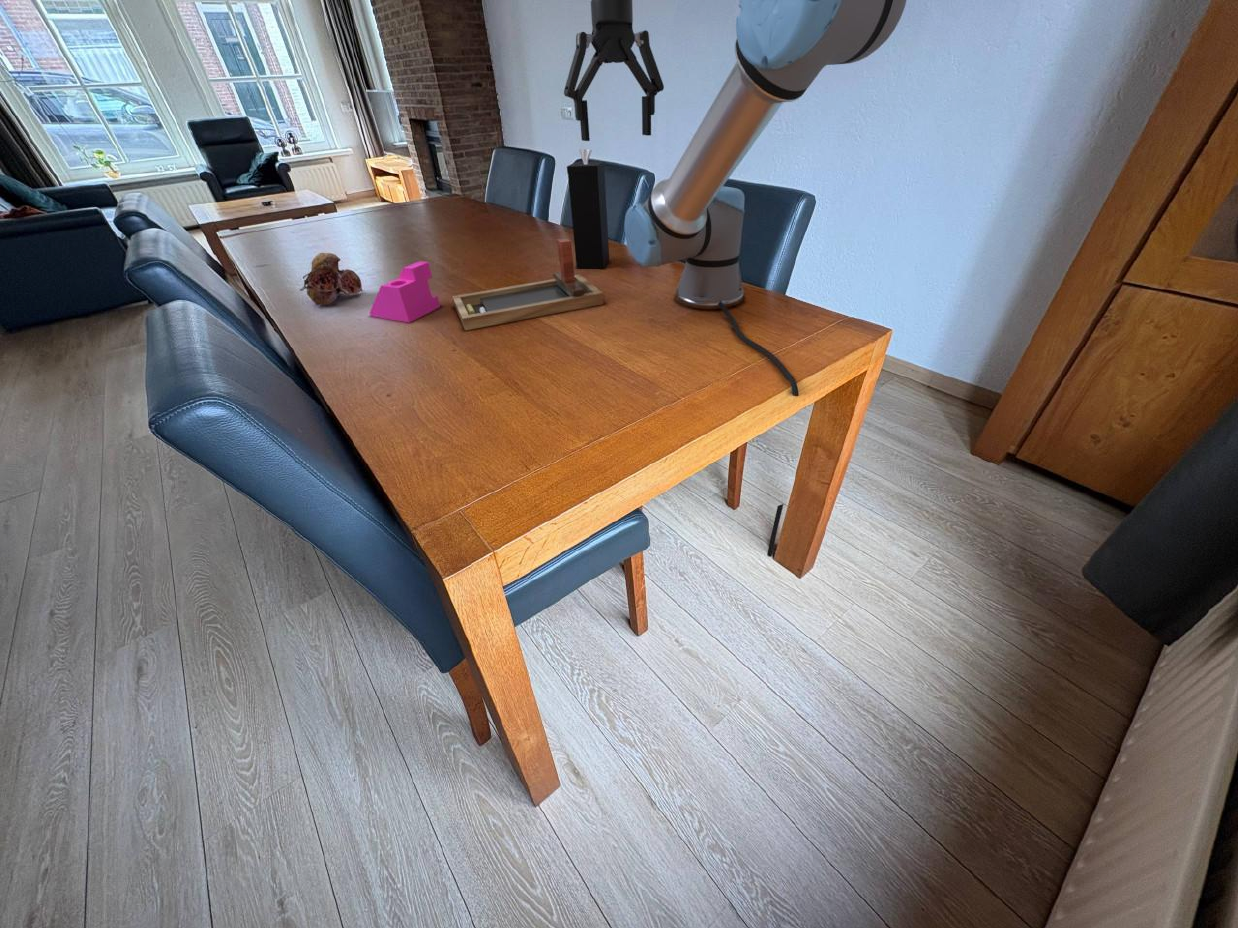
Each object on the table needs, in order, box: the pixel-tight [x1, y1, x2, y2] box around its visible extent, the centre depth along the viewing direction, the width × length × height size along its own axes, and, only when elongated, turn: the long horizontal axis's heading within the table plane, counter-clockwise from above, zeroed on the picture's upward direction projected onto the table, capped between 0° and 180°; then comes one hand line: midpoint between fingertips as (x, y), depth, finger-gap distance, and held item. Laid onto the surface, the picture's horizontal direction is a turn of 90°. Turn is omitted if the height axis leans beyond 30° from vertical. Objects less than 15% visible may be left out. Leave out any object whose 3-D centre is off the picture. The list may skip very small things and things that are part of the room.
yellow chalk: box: [466, 304, 475, 315], centre depth 113 cm, size 5×1×1 cm
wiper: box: [553, 237, 585, 297], centre depth 114 cm, size 15×3×11 cm, turn 23°
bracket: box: [369, 261, 441, 324], centre depth 113 cm, size 12×10×10 cm
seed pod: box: [299, 252, 364, 306], centre depth 122 cm, size 13×16×15 cm
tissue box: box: [566, 148, 610, 269], centre depth 131 cm, size 8×8×28 cm
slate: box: [451, 274, 604, 331], centre depth 115 cm, size 16×32×3 cm, turn 113°
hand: (616, 138), depth 101 cm, fingers open, 13 cm apart
